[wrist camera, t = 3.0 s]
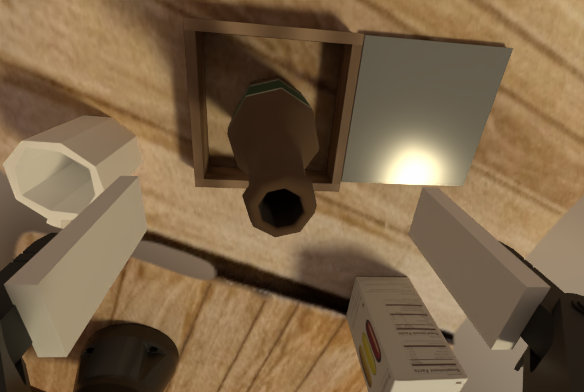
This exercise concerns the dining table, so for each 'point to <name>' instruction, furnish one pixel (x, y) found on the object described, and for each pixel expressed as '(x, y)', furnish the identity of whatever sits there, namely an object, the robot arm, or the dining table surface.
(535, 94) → the dining table surface
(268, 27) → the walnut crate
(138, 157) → the mug
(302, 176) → the beer bottle
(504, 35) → the dining table surface
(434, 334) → the supplement box
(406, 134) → the slate pad
